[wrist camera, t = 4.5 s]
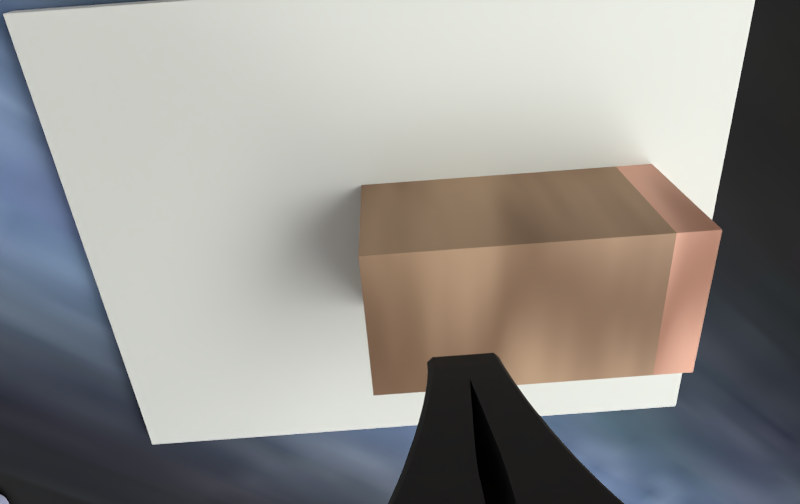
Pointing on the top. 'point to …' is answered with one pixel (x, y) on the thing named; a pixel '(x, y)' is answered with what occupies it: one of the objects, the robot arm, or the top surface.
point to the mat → (339, 170)
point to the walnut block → (535, 274)
